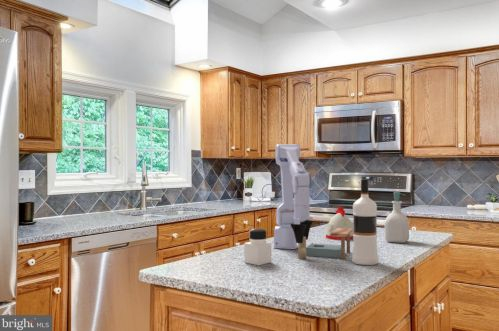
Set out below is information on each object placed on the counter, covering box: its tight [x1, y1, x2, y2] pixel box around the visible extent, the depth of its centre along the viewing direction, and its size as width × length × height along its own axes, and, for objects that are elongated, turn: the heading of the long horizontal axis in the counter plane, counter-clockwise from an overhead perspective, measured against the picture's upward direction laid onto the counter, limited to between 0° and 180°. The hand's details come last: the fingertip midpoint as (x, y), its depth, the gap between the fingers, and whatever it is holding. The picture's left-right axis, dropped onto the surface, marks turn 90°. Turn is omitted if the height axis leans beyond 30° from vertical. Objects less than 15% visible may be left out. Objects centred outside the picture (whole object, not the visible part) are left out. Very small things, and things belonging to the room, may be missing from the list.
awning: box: [330, 228, 352, 260], centre depth 167 cm, size 6×14×10 cm, turn 158°
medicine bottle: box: [243, 228, 272, 266], centre depth 156 cm, size 7×7×12 cm
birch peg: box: [297, 236, 307, 260], centre depth 162 cm, size 3×3×8 cm
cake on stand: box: [325, 206, 354, 241], centre depth 208 cm, size 14×14×15 cm
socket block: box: [306, 243, 341, 259], centre depth 169 cm, size 13×10×3 cm
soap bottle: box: [384, 191, 410, 244], centre depth 196 cm, size 10×10×23 cm
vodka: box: [351, 178, 380, 266], centre depth 154 cm, size 9×9×30 cm
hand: (302, 241), depth 162 cm, fingers open, 7 cm apart
